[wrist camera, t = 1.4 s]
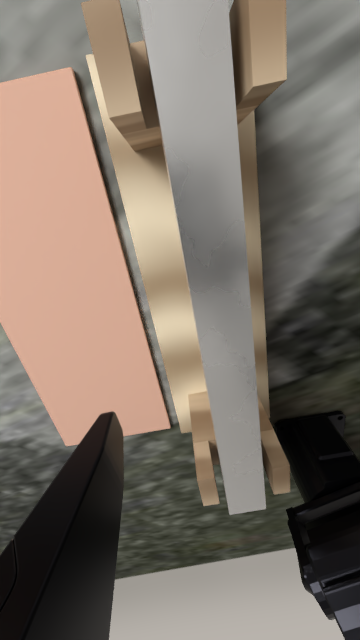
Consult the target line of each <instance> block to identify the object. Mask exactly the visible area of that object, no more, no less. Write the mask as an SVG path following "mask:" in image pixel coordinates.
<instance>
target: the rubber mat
mask: <svg viewBox="0 0 360 640" xmlns="http://www.w3.org/2000/svg"><path fill="white" fill-rule="evenodd" d="M0 323H1V324H2V326H3V328H4V330H5V332H6V334H7V336H8V338H9V340H10V341H11V343H12V345H13V347H14V349H15V351H16V353H17V355H18V356H19V358H20V360H21V362H22V364H23V366H24V368H25V370H26V371H27V373H28V375H29V377H30V379H31V381H32V383H33V385H34V387H35V388H36V390H37V392H38V394H39V396H40V398H41V400H42V402H43V403H44V405H45V407H46V409H47V411H48V413H49V415H50V417H51V419H52V420H53V422H54V424H55V426H56V428H57V430H58V432H59V434H60V435H61V437H62V439H63V441H64V443H65V445H66V446H71V445H76V444H79V443H80V442H81V440H82V439H83V438H84V436H85V435H86V433H87V432H88V431H89V429H90V428H91V426H92V425H93V424H94V422H95V421H96V419H97V418H98V416H99V415H100V414H102V413H106V412H111V411H114V412H115V413H116V415H117V418H118V420H119V422H120V425H121V427H122V430H123V436H128V435H134V434H140V433H145V432H151V431H157V430H163V429H168V428H171V425H170V421H169V417H168V414H167V410H166V407H165V403H164V399H163V396H162V392H161V388H160V385H159V381H158V377H157V374H156V370H155V366H154V363H153V359H152V355H151V352H150V348H149V344H148V341H147V337H146V333H145V330H144V326H143V323H142V319H141V315H140V312H139V308H138V304H137V301H136V297H135V293H134V290H133V286H132V282H131V279H130V275H129V271H128V268H127V264H126V260H125V257H124V253H123V249H122V246H121V242H120V239H119V235H118V231H117V228H116V224H115V220H114V217H113V213H112V209H111V206H110V202H109V198H108V195H107V191H106V187H105V184H104V180H103V176H102V173H101V169H100V165H99V162H98V158H97V154H96V151H95V147H94V144H93V140H92V136H91V133H90V129H89V125H88V122H87V118H86V114H85V111H84V107H83V103H82V100H81V96H80V92H79V89H78V85H77V81H76V78H75V74H74V70H73V69H72V68H71V67H69V68H64V69H60V70H55V71H51V72H46V73H42V74H37V75H33V76H28V77H24V78H19V79H15V80H10V81H6V82H2V83H0Z"/></svg>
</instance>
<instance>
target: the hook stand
mask: <svg viewBox="0 0 360 640" xmlns="http://www.w3.org/2000/svg"><path fill="white" fill-rule="evenodd" d="M81 6H82V10H83V14H84V18H85V22H86V26H87V30H88V34H89V39H90V43H91V47H92V51H93V54H90V55H86V58H87V62H88V66H89V70H90V74H91V78H92V82H93V86H94V90H95V94H96V98H97V102H98V106H99V110H100V114H101V118H102V121H103V125H104V129H105V133H106V137H107V141H108V145H109V149H110V153H111V157H112V161H113V165H114V169H115V173H116V177H117V181H118V184H119V188H120V192H121V196H122V200H123V204H124V208H125V212H126V216H127V220H128V224H129V228H130V232H131V236H132V240H133V244H134V248H135V251H136V255H137V259H138V263H139V267H140V271H141V275H142V279H143V283H144V287H145V291H146V295H147V299H148V303H149V307H150V311H151V315H152V318H153V322H154V326H155V330H156V334H157V338H158V342H159V346H160V350H161V354H162V358H163V362H164V366H165V370H166V374H167V378H168V382H169V385H170V389H171V393H172V397H173V401H174V405H175V409H176V413H177V417H178V421H179V425H180V429H181V433H186V432H192V436H193V445H194V454H195V463H196V472H197V481H198V485H199V489H200V493H201V497H202V501H203V505H204V506H207V505H213V504H219V498H218V492H217V486H216V480H215V475H214V469H213V465H217V464H220V462H219V457H218V451H217V445H216V440H215V434H214V429H213V423H212V418H211V412H210V406H209V401H208V395H207V390H206V384H205V379H204V373H203V368H202V362H201V356H200V351H199V345H198V340H197V334H196V329H195V323H194V317H193V312H192V306H191V301H190V295H189V290H188V284H187V278H186V273H185V267H184V262H183V256H182V251H181V245H180V239H179V234H178V228H177V223H176V217H175V212H174V206H173V200H172V195H171V189H170V184H169V178H168V173H167V167H166V161H165V156H164V150H163V145H162V139H161V134H160V128H159V122H158V117H157V111H156V106H155V100H154V95H153V89H152V83H151V78H150V72H149V67H148V61H147V56H146V50H145V44H144V41H140V42H135V43H131V44H130V43H129V38H128V34H127V30H126V26H125V22H124V18H123V13H122V9H121V5H120V1H119V0H91V1H87V2H82V3H81ZM229 21H230V34H231V47H232V61H233V74H234V88H235V101H236V114H237V128H238V141H239V154H240V168H241V181H242V194H243V208H244V221H245V234H246V248H247V261H248V275H249V288H250V301H251V315H252V328H253V341H254V355H255V368H256V381H257V395H258V408H259V421H260V435H261V448H262V462H263V465H264V468H265V471H266V474H267V477H268V479H269V482H270V485H271V488H272V490H273V493H274V494H280V493H287V492H290V465H289V462H288V460H287V458H286V456H285V454H284V451H283V449H282V447H281V445H280V443H279V440H278V438H277V436H276V434H275V432H274V429H273V427H272V425H271V423H270V421H269V418H270V409H269V389H268V370H267V350H266V331H265V311H264V292H263V272H262V253H261V233H260V214H259V194H258V175H257V155H256V136H255V116H254V109H255V108H256V107H258V106H259V105H260V104H261V103H262V102H263V101H264V100H265V99H266V98H267V97H268V96H269V95H270V94H272V93H273V92H274V91H275V90H276V89H277V88H278V87H279V86H280V85H281V84H282V83H283V82H284V81H286V80H287V62H286V0H234V2H233V4H232V7H231V10H230V13H229Z"/></svg>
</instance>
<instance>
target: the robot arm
mask: <svg viewBox="0 0 360 640" xmlns="http://www.w3.org/2000/svg"><path fill="white" fill-rule="evenodd" d="M345 418H346V417H345V415H344V414H343V412H341V411H336V412H330V413H324V414H318V415H313V416H307V417H301V418H295V419H289V420H284V421H279V422H277V423H276V424H275V434H276V436H277V438H278V440H279V443H280V445H281V447H282V449H283V451H284V454H285V456H286V458H287V460H288V462H289V465H290V471H291V473H292V475H293V477H294V480H295V482H296V484H297V486H298V489H299V491H300V493H301V495H302V498H303V500H304V502H305V503H304V504H302V505H299V506H297V507H295V508H292V507H291V508H288V509H286V511H287V515H288V518H289V520H288V526H289V529H290V532H291V534H292V538H293V541H294V545H295V548H296V552H297V556H298V562H299V568H300V573H301V579H302V583H303V585H304V587H305V589H306V590H307V591H308V592H309V593H311V594H312V595H313V596H314V597H315V598H316V600H317V602H318V603H319V605H320V607H321V609H322V610H323V612H324V613H325V615H326V616H327V617H328V619H329V620H333V619H336V621H337V623H338V625H339V628H340V630H341V632H342V634H343V636H344V638H345V640H360V461H359V460H358V458H357V457H356V455H355V454H354V453H353V451H352V450H351V448H350V447H349V445H348V444H347V443H346V441H345V440H344V439H343V435H344V426H345ZM123 487H124V466H123V430H122V427H121V425H120V422H119V420H118V418H117V415H116V413H115V412H114V411H111V412H106V413H102V414H100V415H99V416H98V418H97V419H96V421H95V422H94V424H93V425H92V426H91V428H90V429H89V431H88V432H87V433H86V435H85V436H84V438H83V439H82V440H81V442H80V443H79V445H78V446H77V448H76V449H75V450H74V452H73V453H72V455H71V456H70V457H69V459H68V460H67V462H66V463H65V464H64V466H63V467H62V469H61V470H60V472H59V473H58V474H57V476H56V477H55V479H54V480H53V481H52V483H51V484H50V486H49V487H48V488H47V490H46V491H45V493H44V494H43V496H42V497H41V498H40V500H39V501H38V503H37V504H36V505H35V507H34V508H33V510H32V511H31V512H30V514H29V515H28V517H27V518H26V520H25V521H24V522H23V524H22V525H21V527H20V528H19V529H18V531H17V532H16V534H15V535H14V539H12V540H11V541H10V542H9V543H8V545H7V546H6V548H5V549H4V550H3V552H2V553H1V555H0V640H109V631H110V621H111V611H112V601H113V590H114V581H115V571H116V561H117V551H118V540H119V530H120V520H121V510H122V500H123Z"/></svg>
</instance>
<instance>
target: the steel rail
mask: <svg viewBox="0 0 360 640" xmlns="http://www.w3.org/2000/svg"><path fill="white" fill-rule="evenodd" d="M137 6H138V11H139V17H140V22H141V28H142V33H143V39H144V44H145V50H146V56H147V61H148V67H149V72H150V78H151V83H152V89H153V95H154V100H155V106H156V111H157V117H158V122H159V128H160V134H161V139H162V145H163V150H164V156H165V161H166V167H167V173H168V178H169V184H170V189H171V195H172V200H173V206H174V212H175V217H176V223H177V228H178V234H179V239H180V245H181V251H182V256H183V262H184V267H185V273H186V278H187V284H188V290H189V295H190V301H191V306H192V312H193V317H194V323H195V329H196V334H197V340H198V345H199V351H200V356H201V362H202V368H203V373H204V379H205V384H206V390H207V395H208V401H209V406H210V412H211V418H212V423H213V429H214V434H215V440H216V445H217V451H218V457H219V462H220V468H221V473H222V479H223V484H224V489H225V494H226V499H227V504H228V509H229V514H230V515H232V514H238V513H244V512H250V511H256V510H263V509H266V502H265V488H264V475H263V462H262V448H261V435H260V421H259V408H258V395H257V381H256V368H255V355H254V341H253V328H252V315H251V301H250V288H249V275H248V261H247V248H246V234H245V221H244V208H243V194H242V181H241V168H240V154H239V141H238V128H237V114H236V101H235V88H234V74H233V61H232V47H231V34H230V21H229V7H228V0H137Z"/></svg>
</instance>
